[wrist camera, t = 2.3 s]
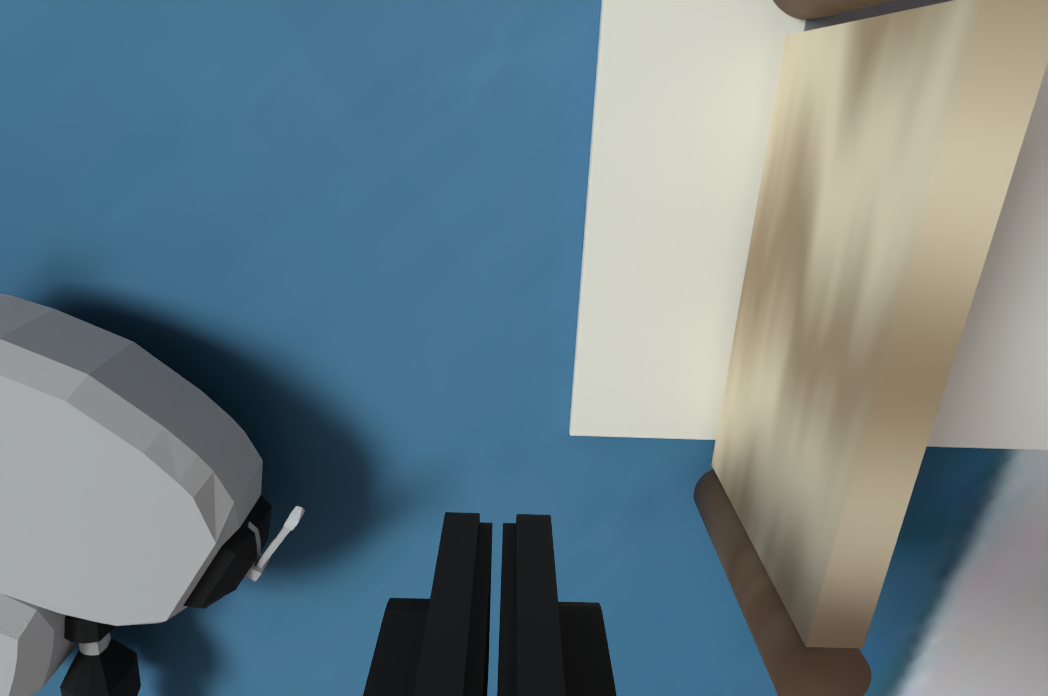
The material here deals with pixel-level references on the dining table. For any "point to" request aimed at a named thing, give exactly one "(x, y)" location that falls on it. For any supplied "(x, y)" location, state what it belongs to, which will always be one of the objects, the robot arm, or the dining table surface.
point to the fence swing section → (858, 311)
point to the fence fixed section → (822, 7)
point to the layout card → (726, 227)
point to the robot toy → (111, 500)
